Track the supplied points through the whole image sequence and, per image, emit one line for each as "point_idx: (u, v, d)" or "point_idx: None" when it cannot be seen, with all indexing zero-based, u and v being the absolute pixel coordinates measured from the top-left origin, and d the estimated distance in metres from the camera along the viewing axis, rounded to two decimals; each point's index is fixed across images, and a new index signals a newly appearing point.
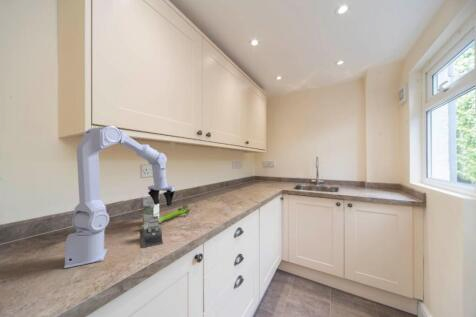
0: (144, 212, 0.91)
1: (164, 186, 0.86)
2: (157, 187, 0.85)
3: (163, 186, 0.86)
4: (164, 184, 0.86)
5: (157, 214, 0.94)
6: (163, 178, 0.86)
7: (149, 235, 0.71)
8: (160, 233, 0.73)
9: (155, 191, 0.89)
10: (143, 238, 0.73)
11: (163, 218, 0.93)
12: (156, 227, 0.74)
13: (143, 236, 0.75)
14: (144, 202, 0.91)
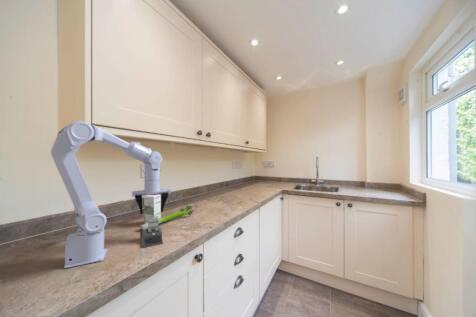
0: (145, 212, 0.91)
1: (159, 189, 0.77)
2: (154, 190, 0.74)
3: (159, 189, 0.76)
4: (159, 187, 0.77)
5: (158, 214, 0.93)
6: (159, 180, 0.77)
7: (149, 235, 0.71)
8: (160, 233, 0.73)
9: (141, 197, 0.74)
10: (143, 238, 0.73)
11: (164, 218, 0.92)
12: (156, 227, 0.74)
13: (143, 236, 0.75)
14: (145, 202, 0.91)
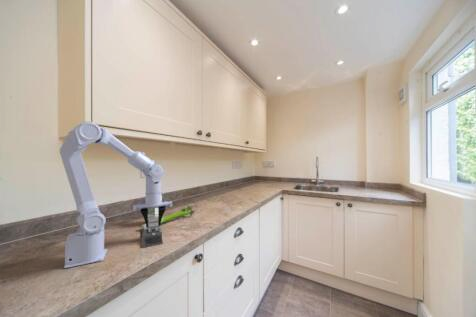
0: None
1: (160, 202, 0.76)
2: (155, 203, 0.73)
3: (160, 202, 0.75)
4: (160, 199, 0.76)
5: None
6: (160, 192, 0.76)
7: (149, 235, 0.71)
8: (160, 233, 0.73)
9: (147, 210, 0.74)
10: (143, 238, 0.73)
11: (165, 218, 0.92)
12: (156, 227, 0.74)
13: (143, 236, 0.75)
14: None
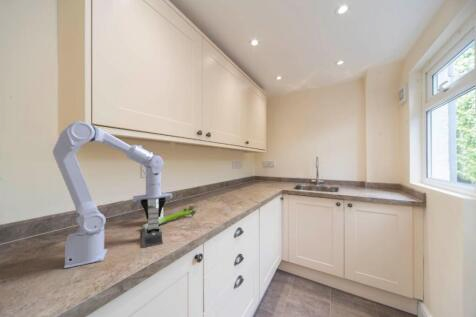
0: None
1: (160, 193, 0.76)
2: (155, 194, 0.73)
3: (160, 193, 0.75)
4: (160, 191, 0.76)
5: None
6: (160, 184, 0.76)
7: (149, 235, 0.71)
8: (160, 233, 0.73)
9: (147, 201, 0.74)
10: (143, 238, 0.73)
11: (166, 218, 0.92)
12: (156, 218, 0.74)
13: (143, 236, 0.75)
14: None
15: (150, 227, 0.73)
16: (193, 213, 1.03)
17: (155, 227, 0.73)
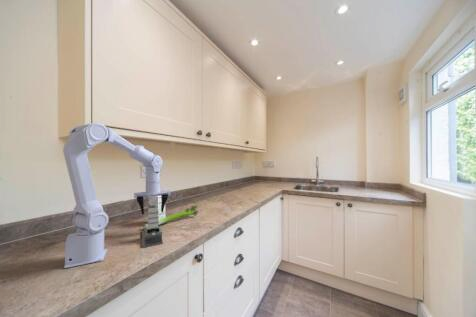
0: None
1: (159, 190, 0.81)
2: (154, 191, 0.78)
3: (159, 190, 0.81)
4: (159, 188, 0.81)
5: (163, 214, 0.94)
6: (159, 182, 0.81)
7: (149, 235, 0.71)
8: (160, 233, 0.73)
9: None
10: (143, 238, 0.73)
11: (168, 218, 0.92)
12: (156, 218, 0.74)
13: (143, 236, 0.75)
14: (150, 201, 0.92)
15: (150, 226, 0.73)
16: (195, 213, 1.03)
17: (155, 227, 0.73)
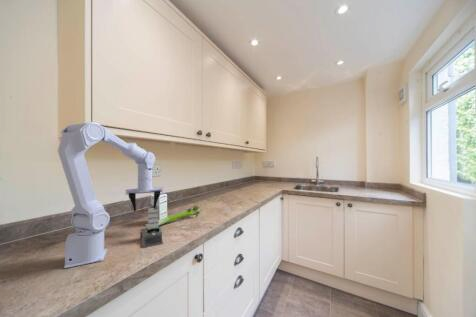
0: None
1: None
2: (146, 188, 0.78)
3: (151, 187, 0.81)
4: (151, 185, 0.82)
5: (164, 214, 0.94)
6: (151, 179, 0.81)
7: (149, 235, 0.71)
8: (160, 233, 0.73)
9: (135, 195, 0.79)
10: (143, 238, 0.73)
11: (169, 218, 0.92)
12: (156, 218, 0.74)
13: (143, 236, 0.75)
14: (151, 201, 0.92)
15: (150, 226, 0.73)
16: (197, 214, 1.02)
17: (155, 227, 0.73)
